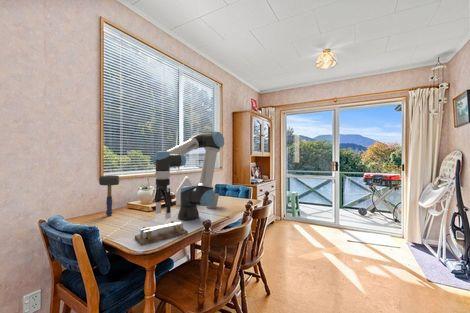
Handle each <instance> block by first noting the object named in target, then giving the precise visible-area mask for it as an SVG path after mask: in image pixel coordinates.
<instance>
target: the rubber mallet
mask: <svg viewBox="0 0 470 313" xmlns="http://www.w3.org/2000/svg"><path fill="white" fill-rule="evenodd" d="M98 184H99V186H107V196H106V201H105V202H106V213H105V214H106V216H107V217H110V216H112V215H113V207H112V206H113V196H112V186H117V185H118V186H119V184H120V176H119V175H100V176H99V180H98Z"/></svg>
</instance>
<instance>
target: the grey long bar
mask: <svg viewBox="0 0 470 313" xmlns="http://www.w3.org/2000/svg"><path fill="white" fill-rule="evenodd" d="M178 225H181V230H183V229H184V222H182V221H177V222H174V223H171V222H170V223H167V224H162V225H161V224H160V225H156V226H149V227H146V228H143V227H142V228H140V229H139V235H140V237H143V240H145V239H148V232H149V231H151V238H154V237H157V236H159V235H163V234H167V233H172V232H176V231H178Z"/></svg>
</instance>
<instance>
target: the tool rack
mask: <svg viewBox="0 0 470 313" xmlns="http://www.w3.org/2000/svg"><path fill="white" fill-rule="evenodd" d="M170 223H175V222H174V220H173V221H170ZM143 228H147V227H146V226H142V229H143ZM187 233H188V234H189V231H188V230H187V229H186V228H183V230H181V225H178V231H176V232H172V233H167V234H163V235H159V236H157V237H154V238H151V231H149V232H148V239H145V240H143V237H140V234H137V235H134V239H135V240H136V241H137V242H138V243H139V244H140V246H144V245H149V244H152V243H157V242H160V240H161V241H164V240H168V239H172V237H173V238H177V237H181V236H184V235H183V234H185V235H188V234H187ZM180 235H181V236H180ZM176 236H177V237H176Z"/></svg>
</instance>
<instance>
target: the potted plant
mask: <svg viewBox="0 0 470 313" xmlns="http://www.w3.org/2000/svg"><path fill="white" fill-rule="evenodd" d="M213 191H214V192H215V200H214V202H213V203H212V204H211V205H210V206H205V208H207V209H210V210H211V209H213V210H214V209H216V208H217V207H218V201H219V196H220V194H219V193H218V192H217V191H218V190H217V189H215V187H213Z"/></svg>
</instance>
